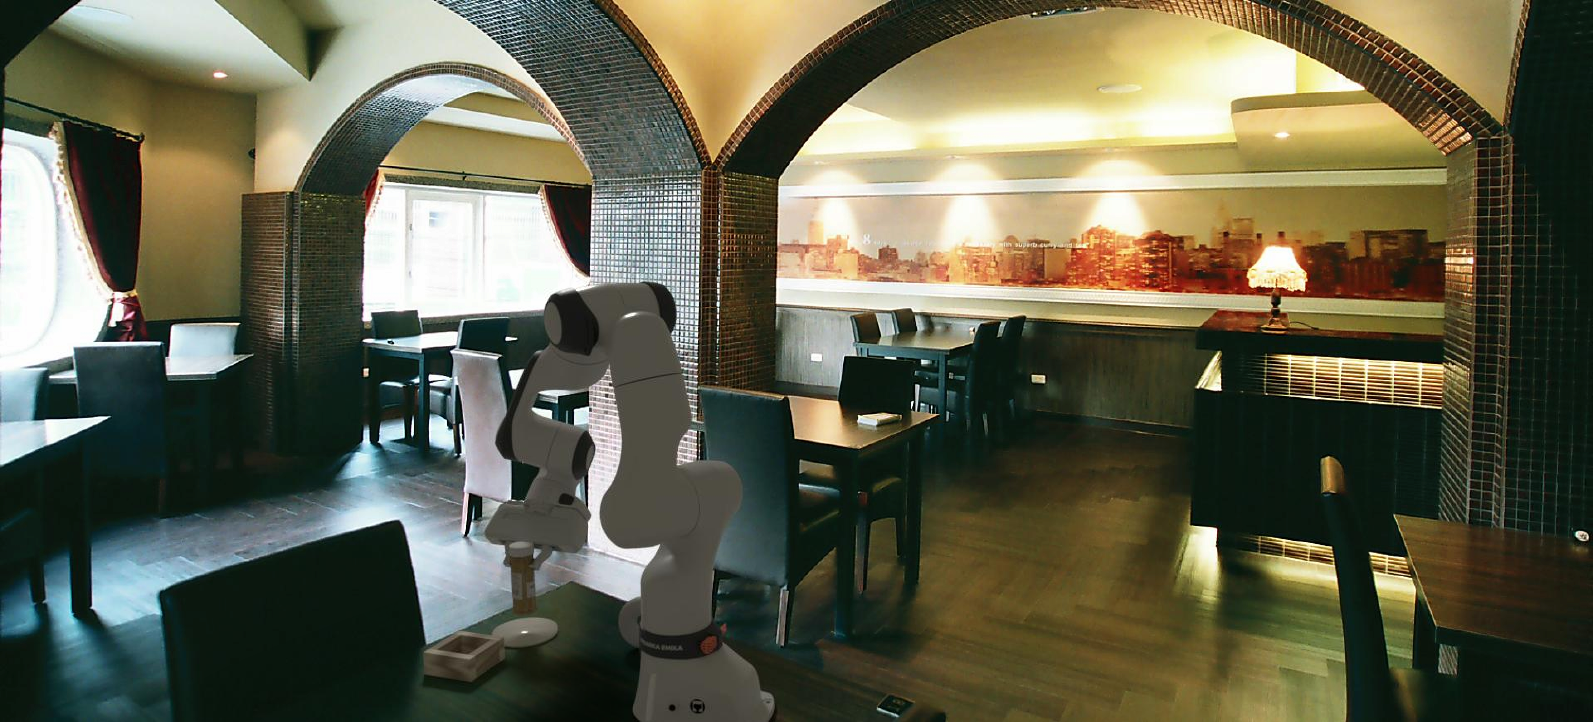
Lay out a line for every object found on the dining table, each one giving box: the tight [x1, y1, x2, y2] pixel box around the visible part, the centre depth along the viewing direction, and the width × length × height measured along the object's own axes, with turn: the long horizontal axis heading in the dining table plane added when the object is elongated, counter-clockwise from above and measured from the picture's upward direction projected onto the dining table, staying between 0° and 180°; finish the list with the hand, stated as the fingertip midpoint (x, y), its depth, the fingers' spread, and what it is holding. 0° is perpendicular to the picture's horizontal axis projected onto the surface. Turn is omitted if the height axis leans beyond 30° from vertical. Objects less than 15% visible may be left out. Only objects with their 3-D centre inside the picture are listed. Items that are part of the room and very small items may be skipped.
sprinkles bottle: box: [509, 541, 538, 617], centre depth 173 cm, size 5×5×13 cm
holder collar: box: [422, 630, 506, 683], centre depth 160 cm, size 10×10×4 cm
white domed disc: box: [491, 617, 559, 648], centre depth 174 cm, size 12×12×1 cm
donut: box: [617, 595, 641, 649], centre depth 167 cm, size 10×4×10 cm, turn 82°
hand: (520, 567), depth 172 cm, fingers closed on sprinkles bottle, 4 cm apart
